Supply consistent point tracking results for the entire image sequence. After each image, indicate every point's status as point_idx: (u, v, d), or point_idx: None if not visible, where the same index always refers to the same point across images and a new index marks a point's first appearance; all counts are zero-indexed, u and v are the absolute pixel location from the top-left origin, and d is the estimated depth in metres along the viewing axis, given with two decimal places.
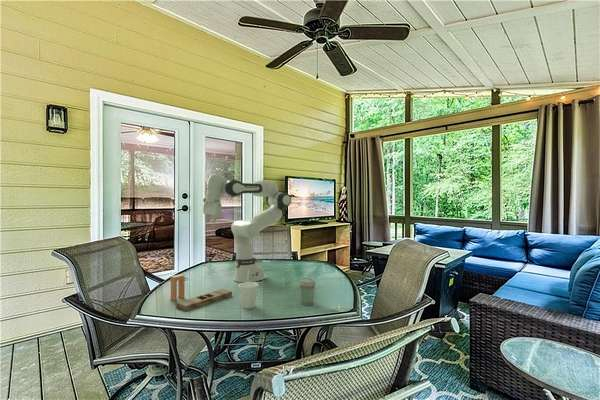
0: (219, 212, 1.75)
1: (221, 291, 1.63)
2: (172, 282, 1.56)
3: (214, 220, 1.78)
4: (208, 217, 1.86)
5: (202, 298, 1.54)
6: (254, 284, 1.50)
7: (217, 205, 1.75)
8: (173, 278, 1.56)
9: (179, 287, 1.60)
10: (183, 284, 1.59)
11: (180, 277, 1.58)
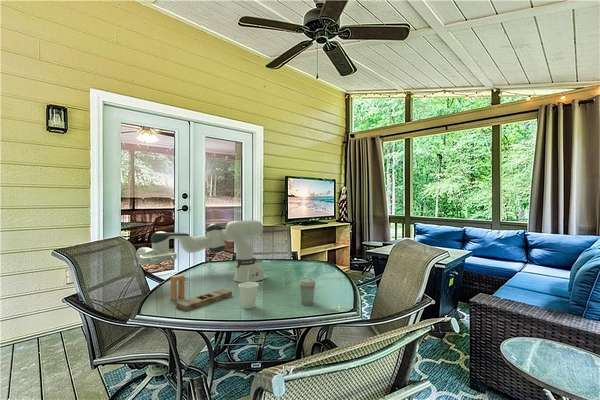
0: None
1: (221, 291, 1.63)
2: (172, 282, 1.56)
3: None
4: None
5: (202, 298, 1.54)
6: (254, 284, 1.50)
7: None
8: (173, 278, 1.56)
9: (179, 287, 1.60)
10: (183, 284, 1.59)
11: (180, 277, 1.58)
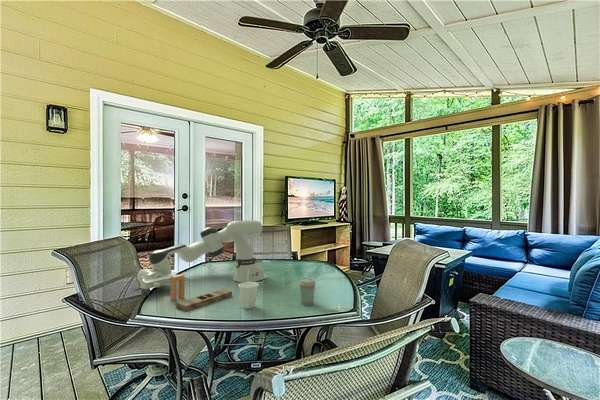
0: None
1: (221, 291, 1.63)
2: (172, 282, 1.56)
3: None
4: None
5: (202, 298, 1.54)
6: (254, 284, 1.50)
7: None
8: (173, 278, 1.56)
9: (179, 287, 1.60)
10: (183, 284, 1.59)
11: (180, 277, 1.58)
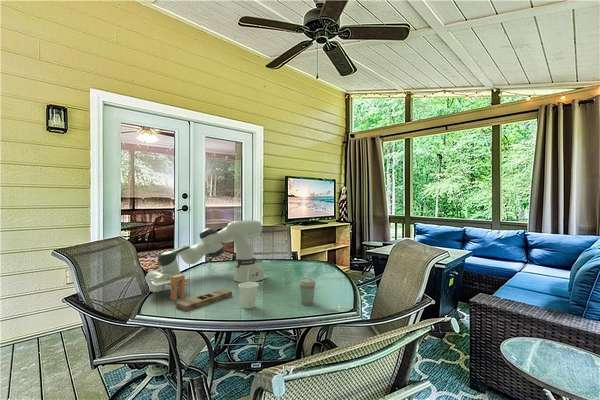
0: None
1: (221, 291, 1.63)
2: (172, 282, 1.56)
3: None
4: None
5: (202, 298, 1.54)
6: (254, 284, 1.50)
7: None
8: (173, 278, 1.56)
9: (179, 287, 1.60)
10: (183, 284, 1.59)
11: (180, 277, 1.58)
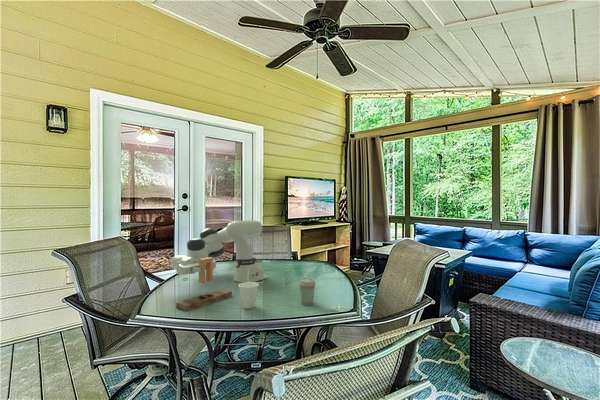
0: None
1: (221, 291, 1.63)
2: (200, 265, 1.51)
3: None
4: None
5: (202, 298, 1.54)
6: (254, 284, 1.50)
7: None
8: (201, 260, 1.51)
9: (207, 270, 1.55)
10: (211, 267, 1.54)
11: (208, 260, 1.53)
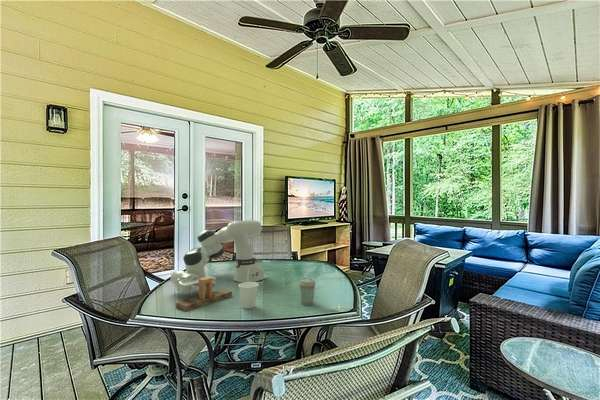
0: None
1: (221, 291, 1.63)
2: (200, 285, 1.51)
3: None
4: None
5: None
6: (254, 284, 1.50)
7: None
8: (201, 280, 1.51)
9: (207, 290, 1.55)
10: (211, 287, 1.54)
11: (208, 280, 1.53)
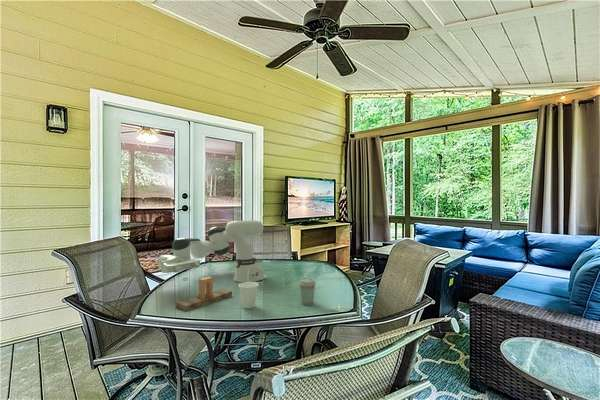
0: None
1: (221, 291, 1.63)
2: (200, 285, 1.51)
3: None
4: None
5: None
6: (254, 284, 1.50)
7: None
8: (201, 280, 1.51)
9: (207, 290, 1.55)
10: (211, 287, 1.54)
11: (208, 280, 1.53)
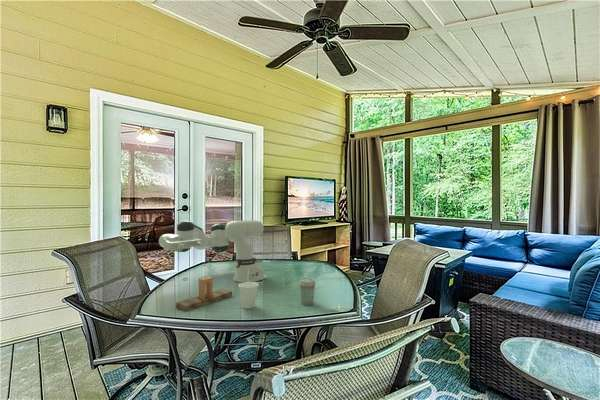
0: None
1: (221, 291, 1.63)
2: (200, 285, 1.51)
3: None
4: None
5: None
6: (254, 284, 1.50)
7: None
8: (201, 280, 1.51)
9: (207, 290, 1.55)
10: (211, 287, 1.54)
11: (208, 280, 1.53)
